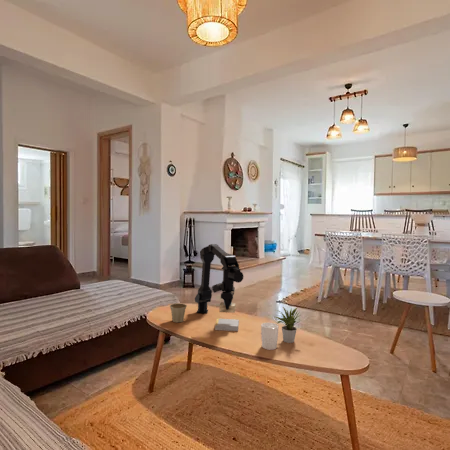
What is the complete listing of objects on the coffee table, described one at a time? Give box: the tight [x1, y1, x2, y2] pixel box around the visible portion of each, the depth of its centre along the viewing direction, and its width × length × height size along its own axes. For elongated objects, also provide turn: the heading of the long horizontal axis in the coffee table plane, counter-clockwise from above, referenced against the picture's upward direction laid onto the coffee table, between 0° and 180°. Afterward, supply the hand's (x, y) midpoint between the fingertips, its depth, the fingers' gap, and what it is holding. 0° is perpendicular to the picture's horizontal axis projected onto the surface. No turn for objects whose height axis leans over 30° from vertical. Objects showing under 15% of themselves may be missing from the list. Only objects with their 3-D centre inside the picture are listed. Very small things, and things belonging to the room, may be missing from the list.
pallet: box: [219, 301, 236, 314], centre depth 173 cm, size 8×6×4 cm
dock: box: [214, 318, 240, 332], centre depth 173 cm, size 11×12×3 cm
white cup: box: [260, 322, 279, 351], centre depth 148 cm, size 8×8×10 cm
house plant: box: [274, 306, 301, 344], centre depth 157 cm, size 14×14×16 cm
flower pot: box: [169, 302, 188, 324], centre depth 181 cm, size 9×9×9 cm
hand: (227, 307), depth 173 cm, fingers closed on pallet, 6 cm apart
